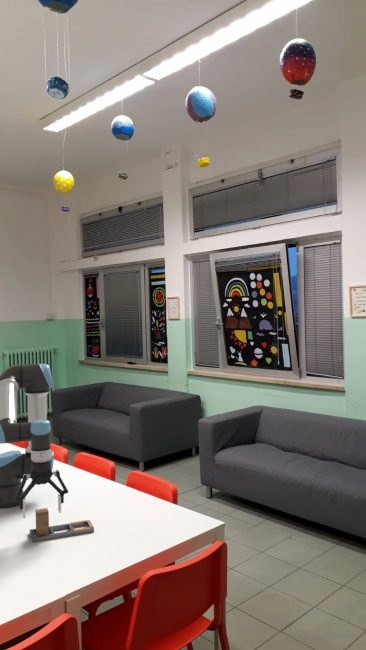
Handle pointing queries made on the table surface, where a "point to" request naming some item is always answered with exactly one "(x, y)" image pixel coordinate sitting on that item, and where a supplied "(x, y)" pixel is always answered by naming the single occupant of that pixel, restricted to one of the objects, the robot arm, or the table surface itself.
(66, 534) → the rack
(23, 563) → the table surface
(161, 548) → the table surface
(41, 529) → the walnut block
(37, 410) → the robot arm
